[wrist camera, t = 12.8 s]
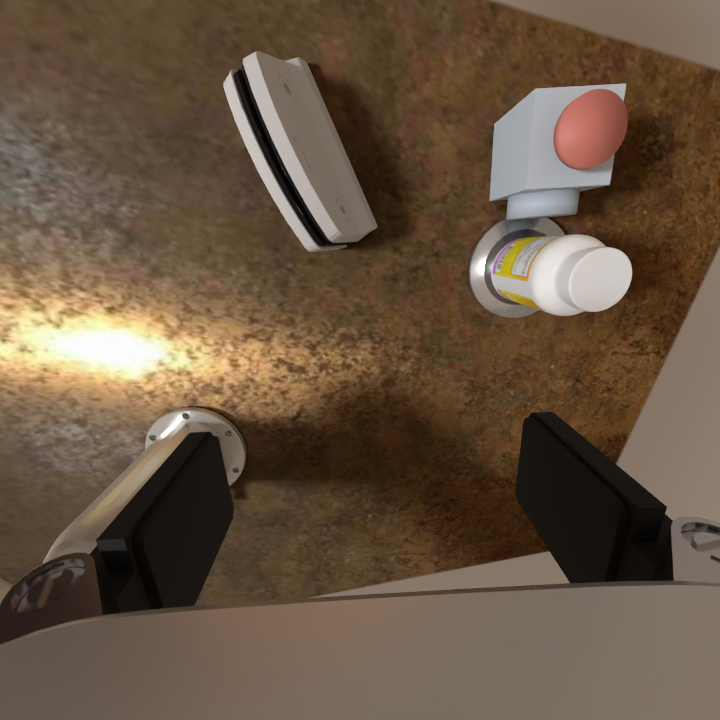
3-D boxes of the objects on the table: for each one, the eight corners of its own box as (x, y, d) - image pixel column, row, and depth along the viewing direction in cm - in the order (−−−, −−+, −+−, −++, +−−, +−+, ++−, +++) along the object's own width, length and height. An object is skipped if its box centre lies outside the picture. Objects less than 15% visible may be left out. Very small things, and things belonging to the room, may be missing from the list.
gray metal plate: (558, 313, 40) (564, 315, 39) (465, 318, 40) (468, 320, 39) (572, 211, 36) (579, 210, 35) (469, 217, 36) (473, 216, 35)
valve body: (553, 217, 37) (625, 207, 27) (488, 221, 37) (537, 212, 27) (564, 119, 34) (651, 68, 24) (494, 123, 34) (552, 74, 24)
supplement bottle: (553, 289, 38) (648, 311, 26) (494, 307, 38) (561, 336, 26) (545, 228, 36) (645, 220, 24) (483, 248, 36) (550, 249, 24)
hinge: (379, 230, 37) (351, 244, 28) (342, 249, 39) (306, 267, 30) (304, 57, 32) (242, 11, 23) (267, 89, 34) (197, 58, 25)
